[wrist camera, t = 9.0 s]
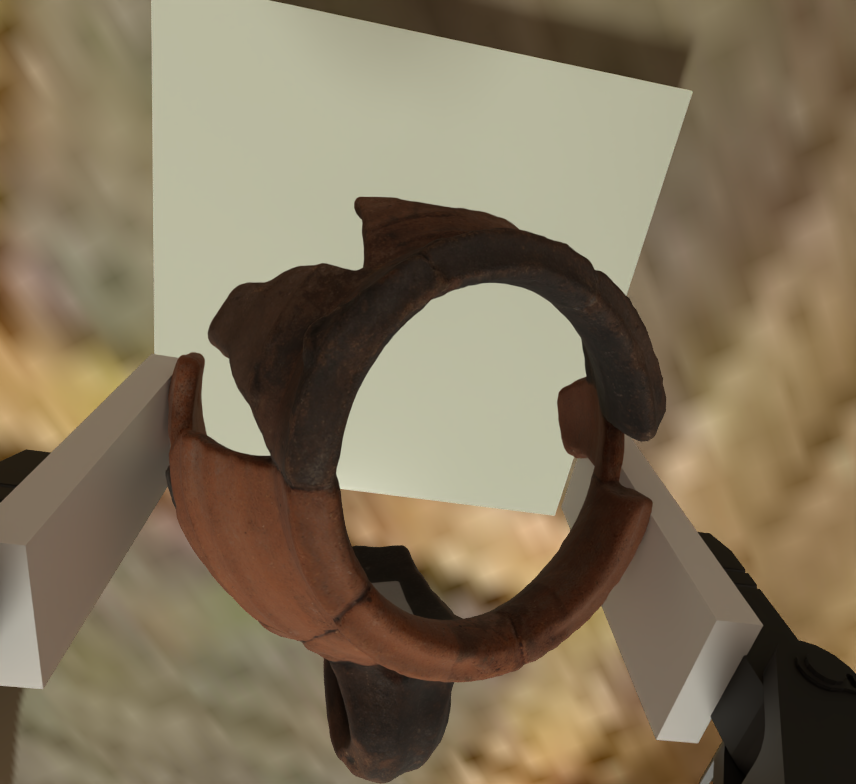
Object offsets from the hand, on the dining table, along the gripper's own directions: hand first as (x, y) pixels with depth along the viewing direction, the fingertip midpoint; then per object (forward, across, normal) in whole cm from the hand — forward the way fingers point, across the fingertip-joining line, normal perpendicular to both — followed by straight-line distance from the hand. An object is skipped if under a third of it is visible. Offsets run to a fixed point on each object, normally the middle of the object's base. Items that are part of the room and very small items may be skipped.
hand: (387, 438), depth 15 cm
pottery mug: (+1, 0, 0) cm, 1 cm away
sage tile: (+14, 0, 0) cm, 14 cm away
